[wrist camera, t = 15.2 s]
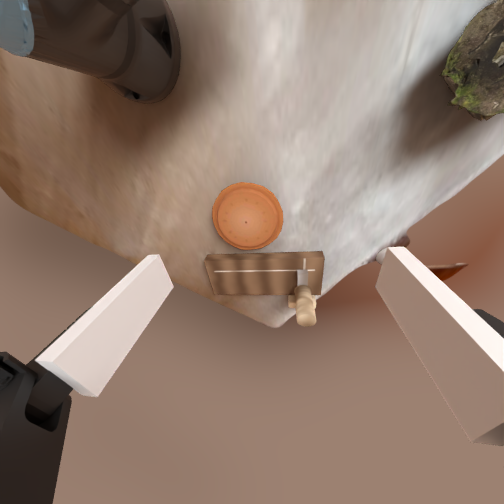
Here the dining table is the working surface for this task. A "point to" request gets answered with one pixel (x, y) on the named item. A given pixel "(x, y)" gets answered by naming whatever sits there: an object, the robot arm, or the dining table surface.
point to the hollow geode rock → (479, 64)
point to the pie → (247, 216)
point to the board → (264, 272)
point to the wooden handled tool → (303, 300)
